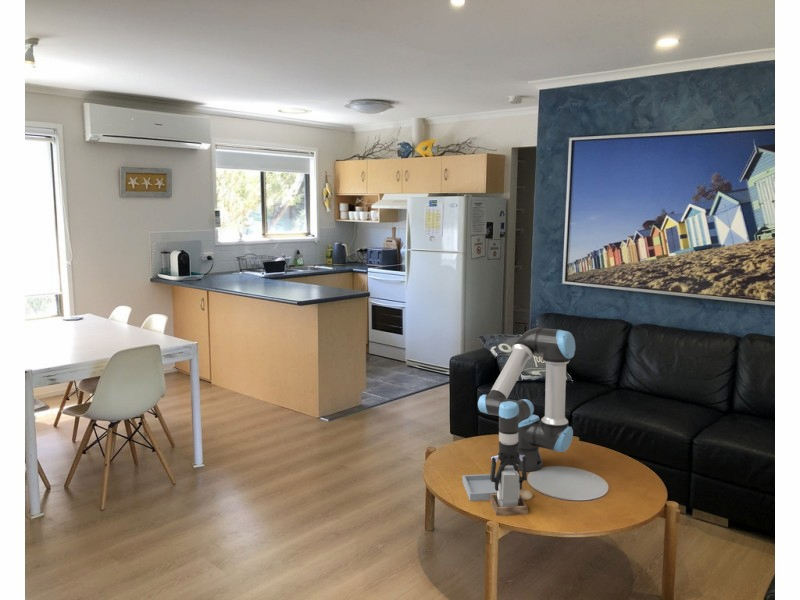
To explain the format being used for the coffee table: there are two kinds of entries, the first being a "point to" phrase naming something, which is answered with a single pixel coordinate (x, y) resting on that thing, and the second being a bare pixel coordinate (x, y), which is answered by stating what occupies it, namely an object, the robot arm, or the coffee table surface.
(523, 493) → the curved potato chip
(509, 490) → the skincare box
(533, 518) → the coffee table surface
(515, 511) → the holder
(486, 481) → the tray
